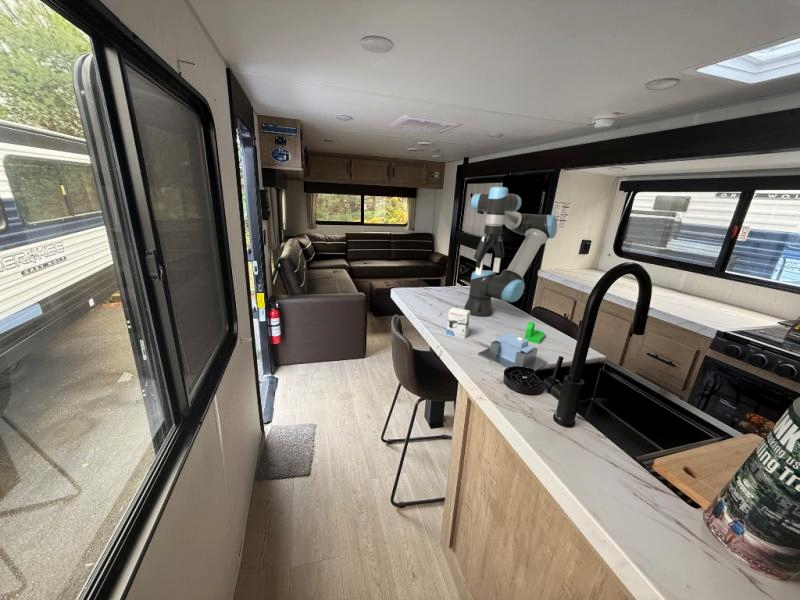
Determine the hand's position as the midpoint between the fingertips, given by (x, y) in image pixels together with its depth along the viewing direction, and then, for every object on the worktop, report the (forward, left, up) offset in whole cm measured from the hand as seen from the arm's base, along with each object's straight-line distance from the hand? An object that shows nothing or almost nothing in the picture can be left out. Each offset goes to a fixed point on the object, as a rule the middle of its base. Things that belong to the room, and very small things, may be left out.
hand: (487, 273), depth 139 cm
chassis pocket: (+16, +26, -27) cm, 41 cm away
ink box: (+16, -1, -27) cm, 31 cm away
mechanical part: (-12, +21, -27) cm, 37 cm away
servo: (+16, +26, -26) cm, 40 cm away
